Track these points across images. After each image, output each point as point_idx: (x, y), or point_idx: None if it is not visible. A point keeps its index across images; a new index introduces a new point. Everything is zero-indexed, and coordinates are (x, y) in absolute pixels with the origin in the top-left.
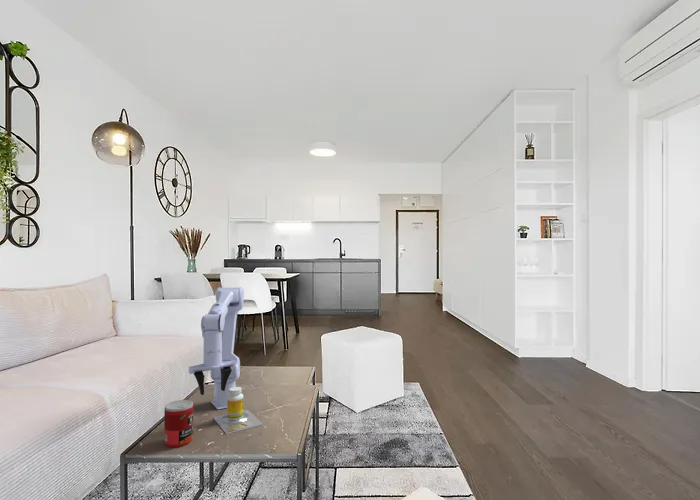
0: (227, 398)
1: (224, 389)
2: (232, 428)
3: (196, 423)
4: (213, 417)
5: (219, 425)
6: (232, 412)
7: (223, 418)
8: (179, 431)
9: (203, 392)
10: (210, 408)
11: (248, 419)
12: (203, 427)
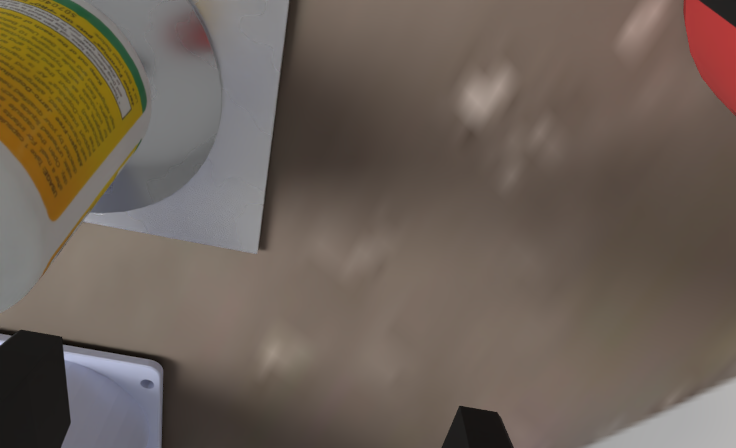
0: (39, 240)
1: (8, 347)
2: None
3: (434, 249)
4: (257, 247)
5: (286, 23)
6: (71, 51)
7: (185, 149)
8: None
9: (480, 444)
10: (202, 419)
11: None
12: (435, 119)
